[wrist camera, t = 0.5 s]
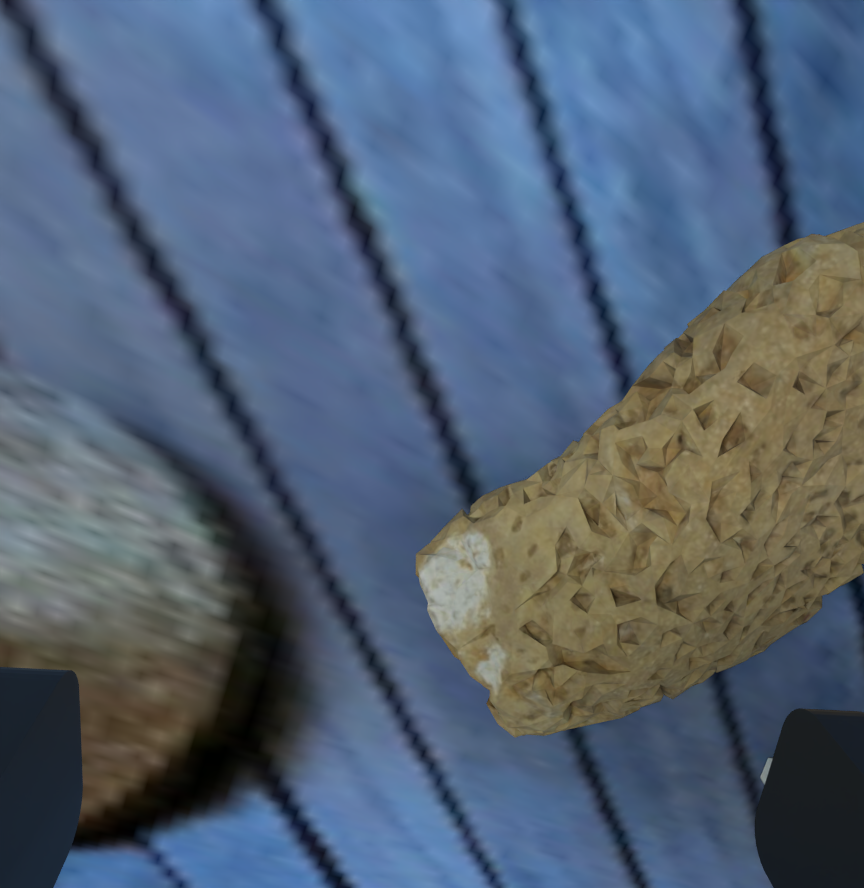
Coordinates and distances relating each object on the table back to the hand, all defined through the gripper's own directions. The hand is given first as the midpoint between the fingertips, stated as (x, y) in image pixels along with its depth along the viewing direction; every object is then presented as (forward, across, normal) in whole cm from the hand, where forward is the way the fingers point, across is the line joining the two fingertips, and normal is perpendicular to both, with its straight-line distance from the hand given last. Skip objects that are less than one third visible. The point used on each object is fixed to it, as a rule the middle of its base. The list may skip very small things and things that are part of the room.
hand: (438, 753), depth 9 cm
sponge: (+20, -11, +3) cm, 23 cm away
